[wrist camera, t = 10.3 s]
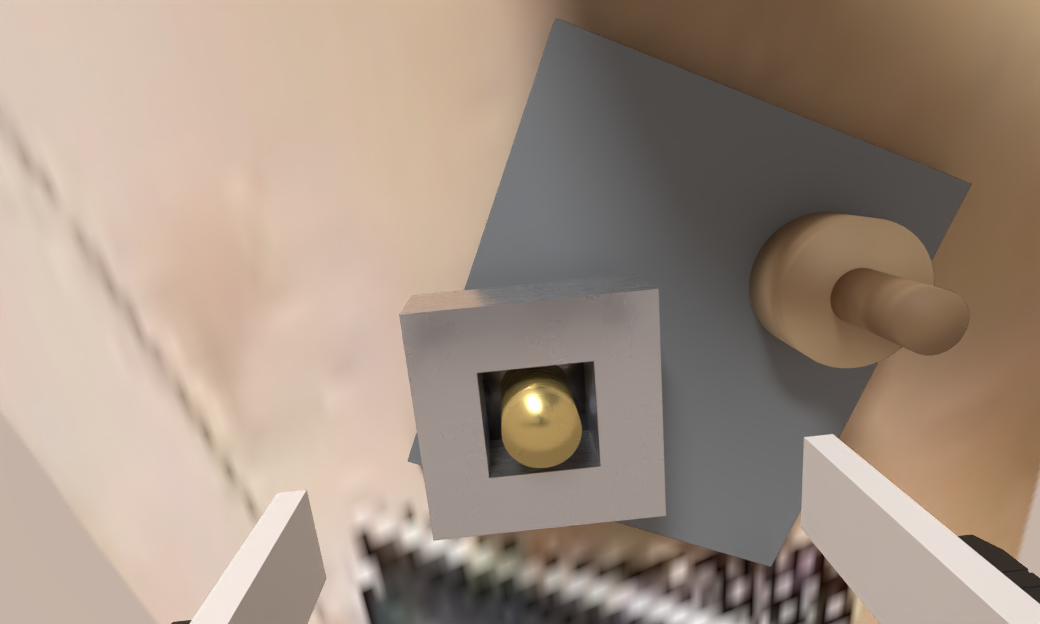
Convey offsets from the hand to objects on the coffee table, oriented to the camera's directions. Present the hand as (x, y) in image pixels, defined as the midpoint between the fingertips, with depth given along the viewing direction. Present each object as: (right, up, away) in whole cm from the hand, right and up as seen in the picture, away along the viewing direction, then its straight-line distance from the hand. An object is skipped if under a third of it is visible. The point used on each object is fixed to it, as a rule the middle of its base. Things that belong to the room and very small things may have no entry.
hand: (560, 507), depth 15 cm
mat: (+6, +5, +12) cm, 14 cm away
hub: (-1, +2, +11) cm, 11 cm away
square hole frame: (0, +2, +9) cm, 9 cm away
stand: (+12, +7, +10) cm, 17 cm away
